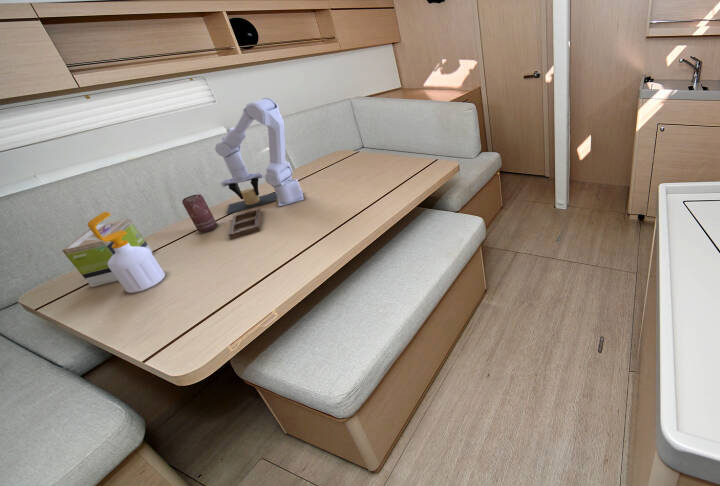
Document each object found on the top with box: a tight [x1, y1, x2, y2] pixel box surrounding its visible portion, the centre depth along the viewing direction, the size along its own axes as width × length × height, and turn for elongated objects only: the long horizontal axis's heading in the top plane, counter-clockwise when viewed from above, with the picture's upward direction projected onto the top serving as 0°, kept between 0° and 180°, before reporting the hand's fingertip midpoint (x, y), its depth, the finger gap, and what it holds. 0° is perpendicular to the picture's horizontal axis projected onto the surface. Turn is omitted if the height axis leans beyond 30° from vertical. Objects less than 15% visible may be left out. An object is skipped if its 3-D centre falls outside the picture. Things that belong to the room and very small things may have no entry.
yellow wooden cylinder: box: [240, 187, 260, 205], centre depth 153 cm, size 5×5×6 cm
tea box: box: [61, 217, 154, 288], centre depth 113 cm, size 15×10×15 cm, turn 22°
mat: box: [226, 191, 278, 215], centre depth 154 cm, size 18×10×1 cm, turn 122°
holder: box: [228, 207, 263, 240], centre depth 136 cm, size 9×17×2 cm, turn 32°
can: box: [181, 193, 218, 234], centre depth 134 cm, size 6×6×14 cm
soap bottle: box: [87, 211, 166, 294], centre depth 103 cm, size 9×9×25 cm
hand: (250, 196), depth 153 cm, fingers closed on yellow wooden cylinder, 5 cm apart
